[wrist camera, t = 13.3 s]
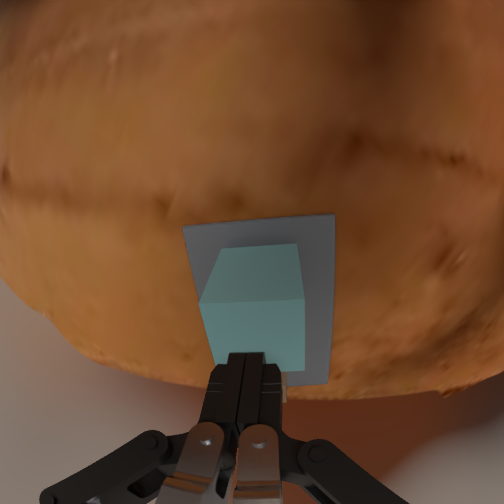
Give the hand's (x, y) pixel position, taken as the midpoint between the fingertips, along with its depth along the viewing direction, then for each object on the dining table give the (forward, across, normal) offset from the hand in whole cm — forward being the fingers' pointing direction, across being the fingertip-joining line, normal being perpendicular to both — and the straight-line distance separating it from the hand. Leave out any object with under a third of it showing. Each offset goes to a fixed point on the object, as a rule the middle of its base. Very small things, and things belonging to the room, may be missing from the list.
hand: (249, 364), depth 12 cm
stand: (+11, 0, +6) cm, 12 cm away
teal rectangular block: (+9, 0, +1) cm, 9 cm away
